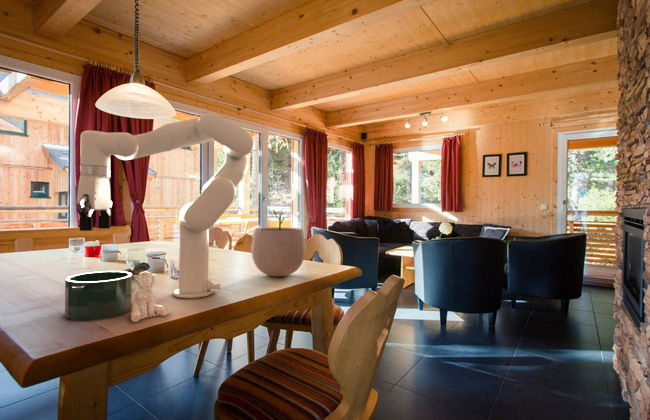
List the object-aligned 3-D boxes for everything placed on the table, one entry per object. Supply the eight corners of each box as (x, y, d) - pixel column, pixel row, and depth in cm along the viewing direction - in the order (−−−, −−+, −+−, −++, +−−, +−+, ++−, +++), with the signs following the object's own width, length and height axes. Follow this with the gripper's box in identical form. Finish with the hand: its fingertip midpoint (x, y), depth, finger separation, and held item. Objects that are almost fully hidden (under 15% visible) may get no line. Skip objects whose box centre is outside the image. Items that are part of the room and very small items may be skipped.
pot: (144, 301, 110) (145, 269, 110) (108, 324, 89) (108, 284, 89) (92, 301, 109) (93, 269, 109) (43, 324, 88) (44, 284, 88)
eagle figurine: (146, 278, 137) (154, 270, 146) (134, 264, 136) (144, 256, 145) (129, 288, 138) (139, 279, 146) (118, 274, 136) (128, 266, 145)
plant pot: (314, 273, 161) (315, 208, 161) (288, 283, 139) (289, 208, 139) (270, 268, 171) (271, 207, 171) (239, 277, 149) (240, 207, 149)
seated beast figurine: (132, 323, 90) (133, 276, 90) (119, 315, 95) (120, 272, 95) (168, 315, 97) (169, 272, 97) (155, 308, 103) (155, 268, 102)
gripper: (98, 175, 114) (98, 227, 114) (63, 169, 96) (63, 231, 97) (122, 175, 114) (122, 227, 115) (92, 170, 97) (92, 231, 97)
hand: (95, 229), depth 106 cm, fingers open, 9 cm apart
